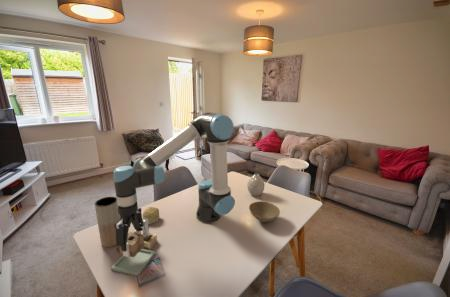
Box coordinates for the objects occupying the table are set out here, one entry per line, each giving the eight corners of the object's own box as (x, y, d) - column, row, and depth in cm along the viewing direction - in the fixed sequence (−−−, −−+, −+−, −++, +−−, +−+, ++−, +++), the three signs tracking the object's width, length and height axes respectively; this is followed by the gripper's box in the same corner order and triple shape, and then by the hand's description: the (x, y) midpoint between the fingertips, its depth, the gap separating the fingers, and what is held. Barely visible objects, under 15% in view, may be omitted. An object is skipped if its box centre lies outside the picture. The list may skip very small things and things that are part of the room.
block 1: (144, 245, 92) (143, 234, 90) (134, 257, 85) (132, 245, 84) (131, 243, 94) (129, 231, 92) (120, 253, 87) (118, 242, 85)
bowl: (284, 220, 123) (285, 208, 121) (268, 234, 110) (269, 221, 108) (259, 208, 135) (259, 198, 133) (242, 220, 122) (242, 208, 120)
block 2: (157, 241, 104) (156, 234, 103) (149, 250, 98) (148, 243, 97) (145, 238, 106) (144, 232, 105) (136, 248, 99) (135, 241, 98)
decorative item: (149, 230, 118) (157, 219, 115) (136, 220, 118) (144, 208, 115) (157, 221, 127) (165, 211, 124) (145, 211, 127) (153, 201, 124)
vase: (265, 198, 148) (266, 177, 144) (247, 198, 149) (248, 177, 144) (262, 191, 161) (263, 171, 157) (246, 190, 161) (247, 171, 157)
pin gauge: (151, 242, 103) (149, 218, 99) (148, 247, 100) (145, 222, 96) (146, 241, 103) (144, 217, 100) (142, 245, 101) (140, 221, 97)
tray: (155, 253, 96) (155, 251, 95) (137, 276, 83) (137, 273, 83) (131, 248, 99) (131, 246, 98) (111, 270, 86) (110, 267, 86)
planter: (108, 233, 109) (102, 195, 103) (126, 234, 109) (121, 196, 103) (96, 247, 99) (89, 206, 94) (116, 247, 99) (110, 206, 93)
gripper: (135, 191, 94) (139, 233, 100) (100, 214, 75) (108, 265, 81) (149, 193, 92) (153, 236, 98) (117, 217, 73) (124, 269, 79)
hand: (132, 249), depth 89 cm, fingers closed on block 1, 7 cm apart
